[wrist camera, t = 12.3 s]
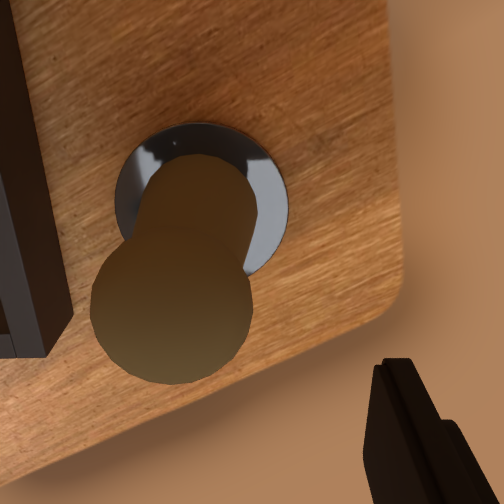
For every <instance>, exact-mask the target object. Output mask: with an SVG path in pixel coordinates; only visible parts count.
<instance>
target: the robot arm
mask: <svg viewBox="0 0 504 504" xmlns="http://www.w3.org/2000/svg"><path fill="white" fill-rule="evenodd" d="M363 461H364V467H365V471H366V475H367V479H368V483H369V487H370V491H371V495H372V498H373V503H374V504H500V503H499V502H498V500H497V498H496V496H495V494H494V492H493V490H492V488H491V486H490V485H489V483H488V481H487V479H486V477H485V475H484V473H483V472H482V470H481V468H480V466H479V464H478V462H477V460H476V458H475V456H474V455H473V453H472V451H471V449H470V447H469V445H468V443H467V441H466V440H465V438H464V436H463V434H462V432H461V430H460V428H459V427H458V425H457V424H456V423H455V422H454V421H453V420H441V418H440V416H439V414H438V412H437V410H436V408H435V406H434V404H433V402H432V400H431V398H430V396H429V394H428V392H427V390H426V388H425V386H424V384H423V382H422V380H421V378H420V376H419V374H418V372H417V370H416V368H415V366H414V364H413V362H412V360H411V359H409V358H384V359H383V361H382V365H375V366H374V370H373V377H372V386H371V393H370V400H369V408H368V416H367V423H366V431H365V438H364V446H363Z"/></svg>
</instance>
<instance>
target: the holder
mask: <svg viewBox="0 0 504 504" xmlns="http://www.w3.org/2000/svg"><path fill="white" fill-rule="evenodd" d="M73 315H74V314H73V309H72V304H71V299H70V295H69V290H68V285H67V280H66V275H65V270H64V266H63V261H62V256H61V251H60V246H59V241H58V237H57V232H56V227H55V222H54V217H53V212H52V208H51V203H50V198H49V193H48V188H47V184H46V179H45V174H44V169H43V164H42V159H41V155H40V150H39V145H38V140H37V135H36V130H35V126H34V121H33V116H32V111H31V106H30V101H29V97H28V92H27V87H26V82H25V77H24V72H23V68H22V63H21V58H20V53H19V48H18V43H17V39H16V34H15V29H14V24H13V19H12V14H11V10H10V5H9V0H0V359H8V358H46V357H47V356H48V354H49V353H50V351H51V350H52V348H53V346H54V345H55V343H56V342H57V340H58V339H59V337H60V336H61V334H62V333H63V331H64V329H65V328H66V326H67V325H68V323H69V322H70V320H71V319H72V317H73Z"/></svg>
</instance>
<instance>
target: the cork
mask: <svg viewBox="0 0 504 504" xmlns="http://www.w3.org/2000/svg"><path fill="white" fill-rule="evenodd" d="M257 216H258V210H257V201H256V196H255V194H254V191H253V189H252V187H251V185H250V183H249V181H248V180H247V179H246V177H245V176H244V175H243V174H242V173H241V172H240V171H239V170H238V169H237V168H236V167H235V166H233V165H231V164H229V163H228V162H226V161H224V160H222V159H220V158H218V157H214V156H208V155H203V154H193V155H185V156H179V157H177V158H175V159H173V160H171V161H169V162H167V163H165V164H163V165H162V166H161V167H160V168H159V169H158V170H157V171H156V172H155V173H154V174H153V175H152V176H151V177H150V179H149V181H148V183H147V185H146V187H145V189H144V191H143V194H142V198H141V202H140V206H139V210H138V214H137V218H136V222H135V226H134V230H133V234H132V238H130V239H128V240H126V241H124V242H123V243H122V244H121V245H120V246H119V247H118V248H117V249H116V250H115V251H114V252H113V253H112V254H111V255H110V256H108V257H107V259H106V260H105V262H104V263H103V264H102V266H101V268H100V270H99V273H98V275H97V277H96V279H95V281H94V283H93V285H92V292H91V305H90V319H91V322H92V326H93V329H94V332H95V335H96V338H97V340H98V342H99V343H100V345H101V346H102V348H103V349H104V351H105V352H106V353H107V355H108V356H109V357H110V359H111V360H112V361H113V362H114V363H116V364H117V365H118V366H120V367H121V368H122V369H123V370H125V371H126V372H127V373H129V374H131V375H133V376H136V377H138V378H141V379H143V380H146V381H148V382H154V383H161V384H168V385H174V384H183V383H192V382H194V381H197V380H200V379H202V378H205V377H207V376H210V375H212V374H213V373H215V372H216V371H218V370H219V369H220V368H221V367H223V366H224V365H225V364H227V363H228V362H229V361H230V360H232V359H233V358H234V356H235V355H236V353H237V352H238V350H239V349H240V347H241V346H242V344H243V343H244V341H245V339H246V337H247V335H248V332H249V328H250V324H251V319H252V315H253V301H252V294H251V287H250V281H249V279H248V277H247V275H246V273H245V271H244V269H243V266H244V263H245V260H246V257H247V253H248V250H249V247H250V243H251V240H252V237H253V234H254V230H255V226H256V221H257Z"/></svg>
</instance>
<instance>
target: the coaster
mask: <svg viewBox="0 0 504 504" xmlns="http://www.w3.org/2000/svg"><path fill="white" fill-rule="evenodd" d="M193 154H203V155H208V156H214V157H218V158H220V159H222V160H224V161H226V162H228V163H229V164H231V165H233V166H235V167H236V168H237V169H238V170H239V171H240V172H241V173H242V174H243V175H244V176H245V177H246V179H247V180H248V181H249V183H250V185H251V187H252V189H253V191H254V194H255V196H256V201H257V210H258V216H257V221H256V226H255V230H254V234H253V237H252V240H251V243H250V247H249V250H248V253H247V257H246V260H245V263H244V266H243V269H244V271H245V273H246V275H247V277H248V276H250V275H251V274H253V273H255V272H256V271H257V270H258V269H260V268H261V267H262V266H263V265H264V264H265V263H266V262H267V261H268V260H269V259H270V258H271V257H272V255H273V254H274V253H275V251H276V250H277V248H278V246H279V245H280V243H281V241H282V238H283V236H284V233H285V230H286V226H287V222H288V213H289V205H288V195H287V190H286V186H285V183H284V180H283V177H282V175H281V173H280V170H279V168H278V166H277V165H276V163H275V162H274V160H273V159H272V157H271V156H270V155H269V154H268V152H267V151H266V150H265V149H264V148H263V147H262V146H261V145H260V144H259V143H257V142H256V141H255V140H254V139H252V138H251V137H249V136H248V135H246V134H245V133H243V132H241V131H239V130H237V129H235V128H232V127H229V126H226V125H223V124H219V123H214V122H206V121H192V122H183V123H179V124H174V125H171V126H169V127H166V128H163V129H161V130H159V131H158V132H156V133H154V134H152V135H151V136H150V137H148V138H147V139H145V140H144V141H143V142H142V143H141V144H140V145H139V146H138V147H137V148H136V149H135V150H134V151H133V152H132V153H131V155H130V156H129V157H128V159H127V160H126V162H125V164H124V166H123V167H122V169H121V172H120V175H119V177H118V180H117V185H116V190H115V214H116V218H117V223H118V226H119V229H120V231H121V234H122V236H123V238H124V240H125V241H126V240H128V239H130V238H132V234H133V230H134V226H135V222H136V218H137V214H138V210H139V206H140V202H141V198H142V194H143V191H144V189H145V187H146V185H147V183H148V181H149V179H150V177H151V176H152V175H153V174H154V173H155V172H156V171H157V170H158V169H159V168H160V167H161V166H162V165H163V164H165V163H167V162H169V161H171V160H173V159H175V158H177V157H179V156H185V155H193Z"/></svg>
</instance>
